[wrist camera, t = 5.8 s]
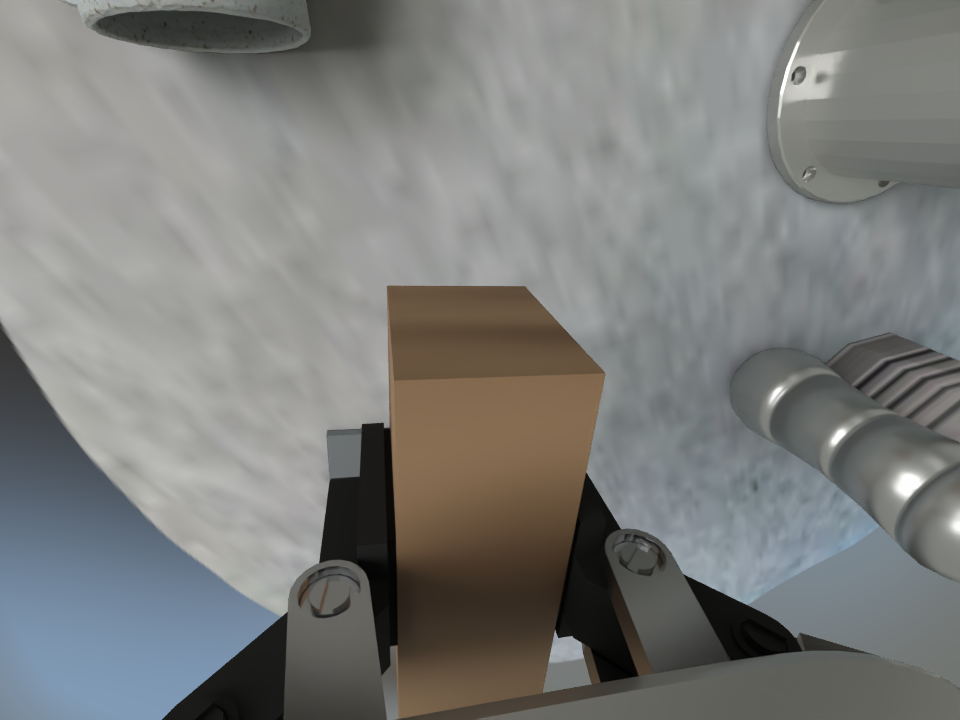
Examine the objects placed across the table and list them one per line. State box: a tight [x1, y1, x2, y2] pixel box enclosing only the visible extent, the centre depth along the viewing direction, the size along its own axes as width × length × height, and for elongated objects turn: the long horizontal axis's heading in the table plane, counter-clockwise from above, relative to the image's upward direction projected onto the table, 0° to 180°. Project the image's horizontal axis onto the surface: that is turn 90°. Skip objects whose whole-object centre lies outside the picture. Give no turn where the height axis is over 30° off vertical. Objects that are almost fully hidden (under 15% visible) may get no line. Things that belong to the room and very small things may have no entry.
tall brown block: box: [381, 286, 605, 720], centre depth 12 cm, size 16×6×4 cm, turn 176°
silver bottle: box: [730, 348, 960, 582], centre depth 27 cm, size 6×7×20 cm
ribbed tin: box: [825, 333, 960, 442], centre depth 34 cm, size 11×11×12 cm
